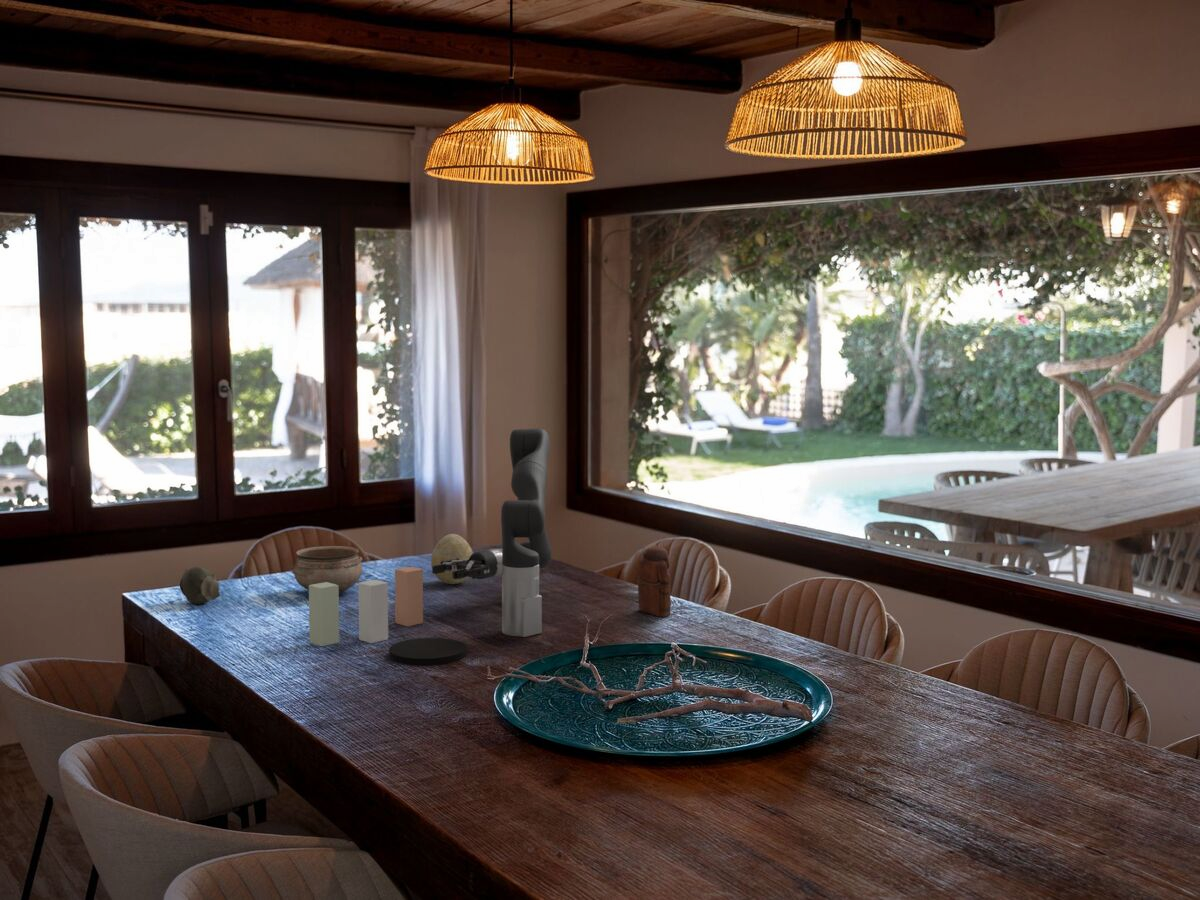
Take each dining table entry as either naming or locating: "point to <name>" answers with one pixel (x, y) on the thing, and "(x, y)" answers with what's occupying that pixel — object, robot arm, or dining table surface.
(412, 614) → the terracotta block
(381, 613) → the light grey block
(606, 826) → the dining table surface
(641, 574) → the wooden figurine
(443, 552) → the fossilized egg
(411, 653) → the wireless charger
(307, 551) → the cooking pot
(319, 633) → the sage block
